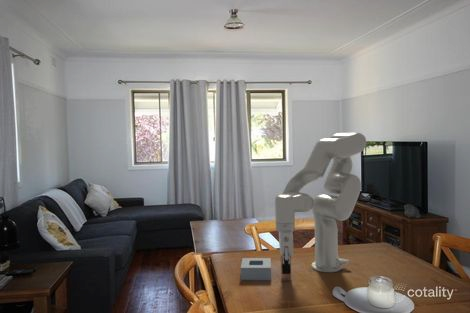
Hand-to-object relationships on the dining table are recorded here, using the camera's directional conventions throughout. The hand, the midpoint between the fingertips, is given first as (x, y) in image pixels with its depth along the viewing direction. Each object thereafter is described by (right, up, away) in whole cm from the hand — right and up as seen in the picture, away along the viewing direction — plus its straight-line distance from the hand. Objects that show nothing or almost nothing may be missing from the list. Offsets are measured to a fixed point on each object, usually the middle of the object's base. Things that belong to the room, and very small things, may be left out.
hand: (286, 271), depth 153 cm
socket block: (-11, -3, +6) cm, 13 cm away
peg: (0, -3, 0) cm, 3 cm away
